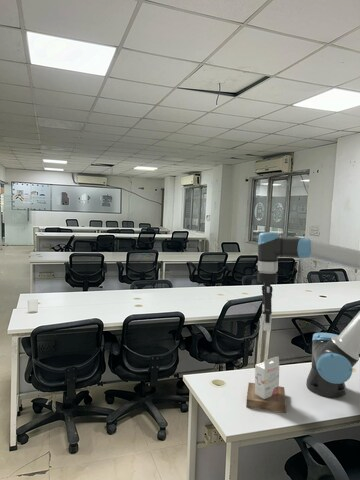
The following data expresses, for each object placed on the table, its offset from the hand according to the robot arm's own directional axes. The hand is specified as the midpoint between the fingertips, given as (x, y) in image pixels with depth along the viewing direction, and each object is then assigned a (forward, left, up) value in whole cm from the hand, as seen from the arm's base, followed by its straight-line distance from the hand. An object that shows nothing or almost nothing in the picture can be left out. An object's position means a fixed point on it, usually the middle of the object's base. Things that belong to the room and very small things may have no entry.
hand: (266, 325), depth 138 cm
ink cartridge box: (-1, +5, -25) cm, 26 cm away
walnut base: (-1, +4, -28) cm, 29 cm away
